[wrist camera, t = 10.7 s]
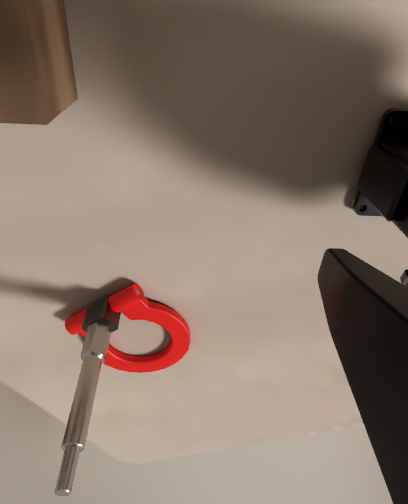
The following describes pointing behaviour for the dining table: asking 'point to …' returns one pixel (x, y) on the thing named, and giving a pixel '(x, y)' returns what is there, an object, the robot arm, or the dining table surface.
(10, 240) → the dining table surface
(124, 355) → the tow hook
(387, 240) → the dining table surface
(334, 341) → the robot arm
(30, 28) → the hole block
